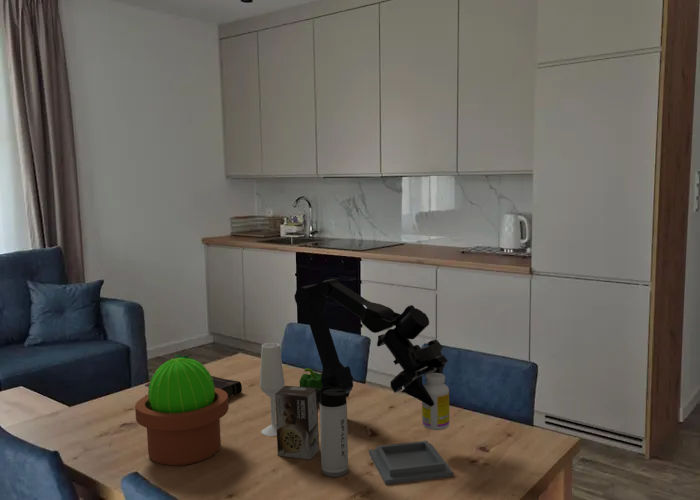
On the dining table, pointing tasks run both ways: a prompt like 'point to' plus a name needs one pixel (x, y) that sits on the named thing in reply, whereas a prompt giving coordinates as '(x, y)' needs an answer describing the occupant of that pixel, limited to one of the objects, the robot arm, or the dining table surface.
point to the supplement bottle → (436, 403)
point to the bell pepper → (311, 379)
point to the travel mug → (333, 431)
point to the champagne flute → (271, 379)
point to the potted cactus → (182, 413)
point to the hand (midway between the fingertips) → (440, 401)
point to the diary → (225, 385)
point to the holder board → (409, 462)
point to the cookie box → (297, 422)
